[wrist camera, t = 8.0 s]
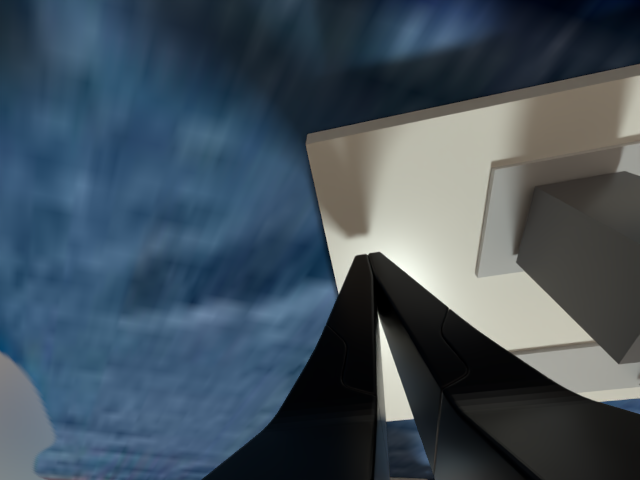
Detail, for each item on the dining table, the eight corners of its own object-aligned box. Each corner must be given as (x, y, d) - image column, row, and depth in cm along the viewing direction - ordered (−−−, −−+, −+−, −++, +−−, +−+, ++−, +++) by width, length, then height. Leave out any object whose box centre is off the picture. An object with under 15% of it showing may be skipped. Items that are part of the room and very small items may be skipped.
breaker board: (1249, -65, 7) (1503, -101, 5) (757, 359, 16) (800, 387, 15) (307, 134, 9) (305, 146, 8) (363, 399, 19) (367, 426, 17)
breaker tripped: (624, 170, 8) (848, 247, 5) (589, 251, 10) (737, 352, 6) (534, 186, 8) (685, 269, 5) (515, 262, 10) (618, 364, 6)
